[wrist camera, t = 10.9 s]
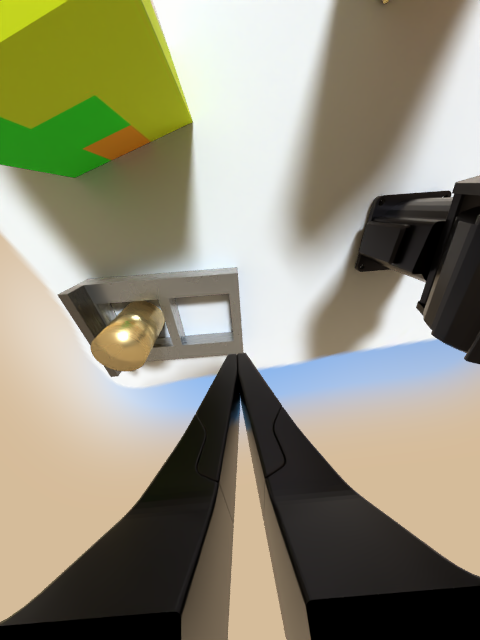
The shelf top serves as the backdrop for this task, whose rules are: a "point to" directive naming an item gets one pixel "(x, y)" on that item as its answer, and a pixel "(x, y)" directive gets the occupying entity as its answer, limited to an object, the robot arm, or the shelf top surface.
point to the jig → (96, 311)
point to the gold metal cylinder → (129, 337)
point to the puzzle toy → (83, 83)
